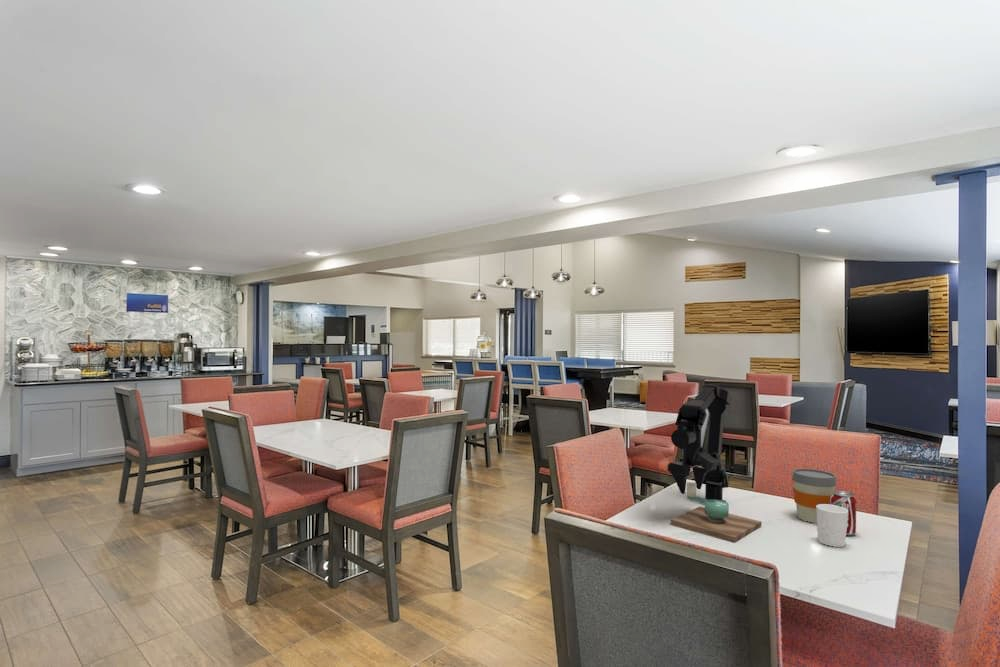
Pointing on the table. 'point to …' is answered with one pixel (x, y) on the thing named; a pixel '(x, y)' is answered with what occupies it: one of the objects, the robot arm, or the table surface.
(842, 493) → the soda can
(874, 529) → the table surface
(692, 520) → the brown wooden cutting board
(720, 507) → the teal bulbous piece
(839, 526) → the white cup
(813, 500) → the reusable coffee cup
